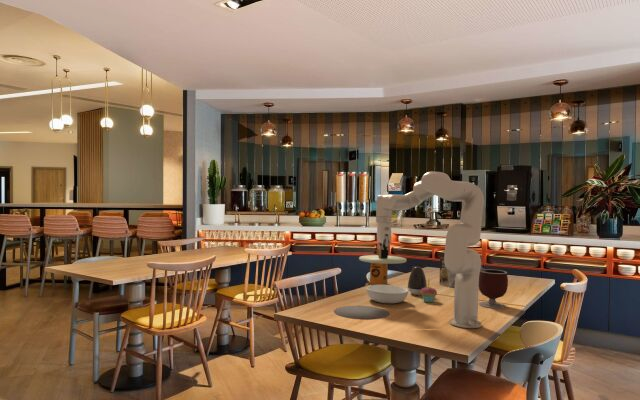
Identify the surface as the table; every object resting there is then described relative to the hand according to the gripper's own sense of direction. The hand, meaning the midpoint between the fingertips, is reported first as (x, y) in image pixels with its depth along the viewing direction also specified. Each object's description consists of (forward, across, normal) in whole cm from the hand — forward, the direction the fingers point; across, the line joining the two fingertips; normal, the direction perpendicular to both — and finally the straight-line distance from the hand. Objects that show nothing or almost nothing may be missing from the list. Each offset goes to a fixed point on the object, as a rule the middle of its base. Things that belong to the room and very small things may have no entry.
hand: (382, 256), depth 226 cm
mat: (+23, -17, +14) cm, 32 cm away
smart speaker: (+24, +22, -26) cm, 42 cm away
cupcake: (+24, +5, -26) cm, 35 cm away
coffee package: (+24, +50, -13) cm, 57 cm away
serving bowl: (+24, +5, -4) cm, 24 cm away
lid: (+2, 0, 0) cm, 2 cm away
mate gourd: (+24, -6, -54) cm, 59 cm away
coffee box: (+24, +46, -55) cm, 75 cm away
